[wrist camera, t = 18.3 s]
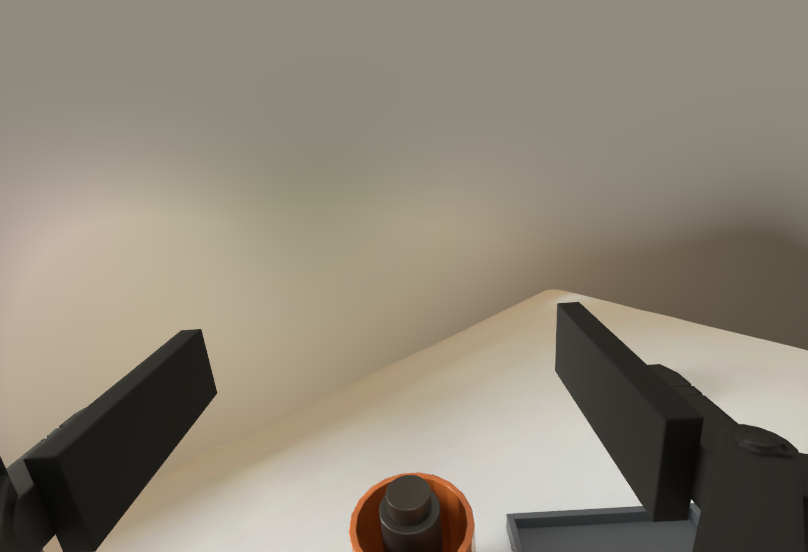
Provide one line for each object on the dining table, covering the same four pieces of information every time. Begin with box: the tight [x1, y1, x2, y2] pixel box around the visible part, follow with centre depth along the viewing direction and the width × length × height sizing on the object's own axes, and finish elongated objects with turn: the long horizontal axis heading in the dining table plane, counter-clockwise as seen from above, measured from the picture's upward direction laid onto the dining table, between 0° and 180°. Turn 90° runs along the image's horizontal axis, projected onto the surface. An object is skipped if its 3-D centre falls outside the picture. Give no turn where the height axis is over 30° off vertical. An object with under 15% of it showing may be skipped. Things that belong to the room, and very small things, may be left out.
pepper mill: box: [379, 475, 443, 552], centre depth 31 cm, size 4×4×11 cm
